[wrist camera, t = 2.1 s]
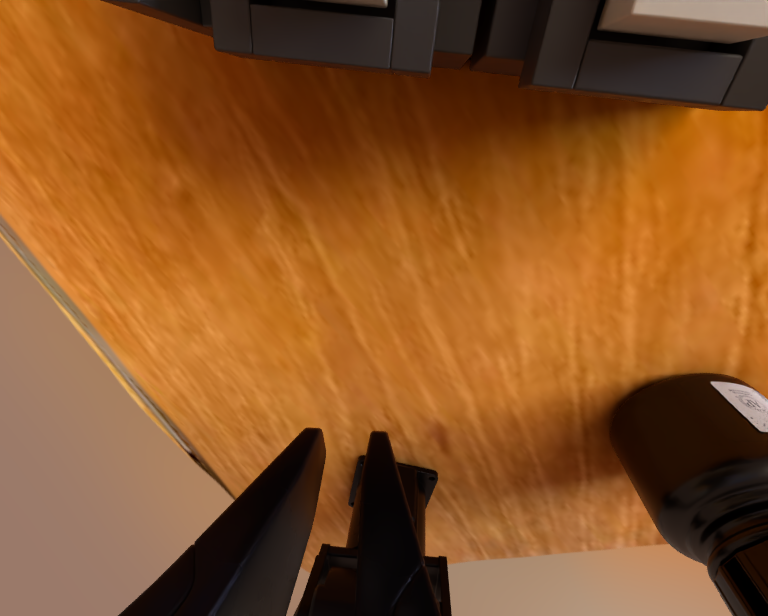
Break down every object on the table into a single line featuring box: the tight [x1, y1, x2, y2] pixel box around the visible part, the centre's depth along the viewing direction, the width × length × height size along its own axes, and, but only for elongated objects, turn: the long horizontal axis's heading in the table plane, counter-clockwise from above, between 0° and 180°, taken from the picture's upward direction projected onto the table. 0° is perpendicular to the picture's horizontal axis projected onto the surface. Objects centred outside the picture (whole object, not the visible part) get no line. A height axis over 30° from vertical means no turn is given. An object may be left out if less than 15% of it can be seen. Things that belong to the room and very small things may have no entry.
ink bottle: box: [610, 373, 768, 616], centre depth 19 cm, size 10×9×12 cm
